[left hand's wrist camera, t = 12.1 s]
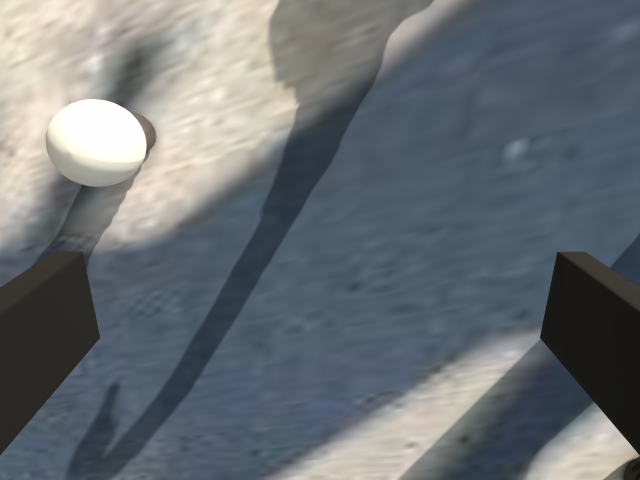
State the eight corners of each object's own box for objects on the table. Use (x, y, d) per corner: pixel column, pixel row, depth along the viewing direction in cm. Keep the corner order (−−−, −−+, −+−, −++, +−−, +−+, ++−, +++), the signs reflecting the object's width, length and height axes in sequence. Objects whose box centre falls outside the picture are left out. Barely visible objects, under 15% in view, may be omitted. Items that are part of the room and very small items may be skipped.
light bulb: (177, 113, 40) (128, 125, 30) (158, 179, 43) (106, 212, 32) (105, 84, 40) (29, 86, 29) (89, 153, 42) (13, 177, 31)
